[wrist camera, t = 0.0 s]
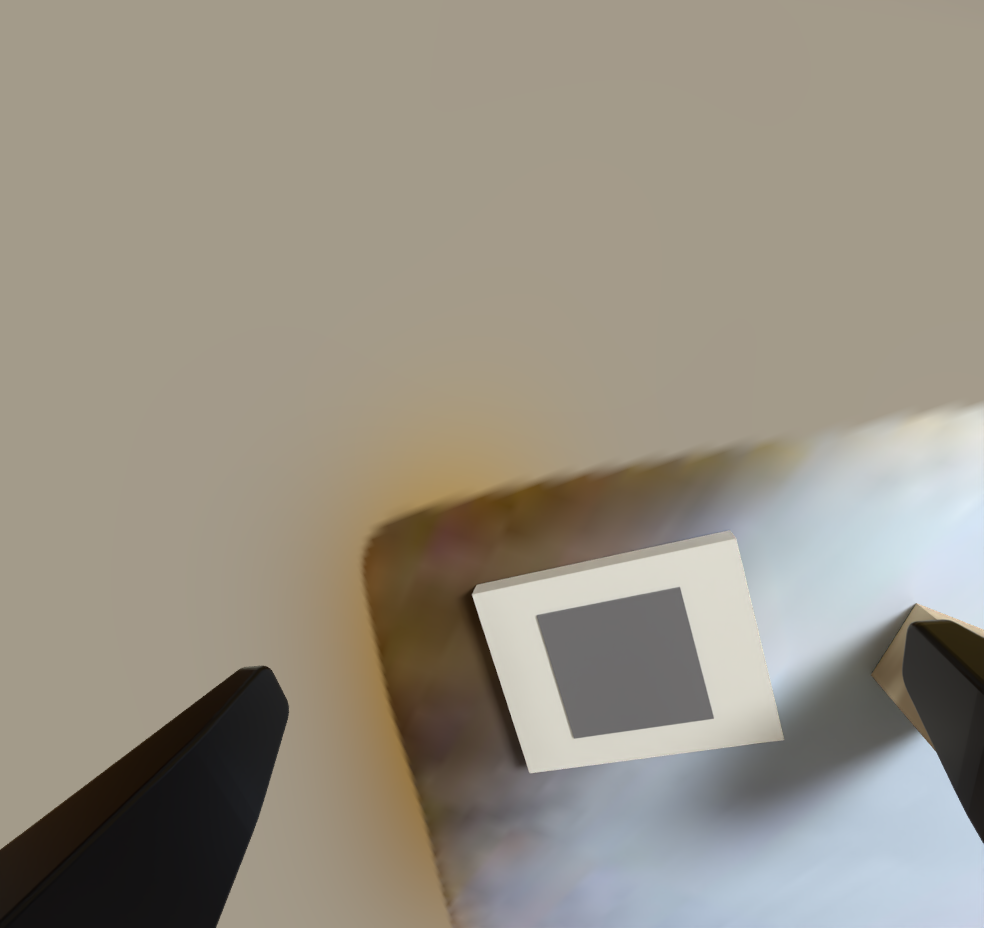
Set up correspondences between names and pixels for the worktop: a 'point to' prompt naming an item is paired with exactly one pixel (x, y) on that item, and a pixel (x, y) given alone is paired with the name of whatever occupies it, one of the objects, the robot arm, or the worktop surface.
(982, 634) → the wooden block
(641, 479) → the worktop surface
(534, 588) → the mat
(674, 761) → the worktop surface
